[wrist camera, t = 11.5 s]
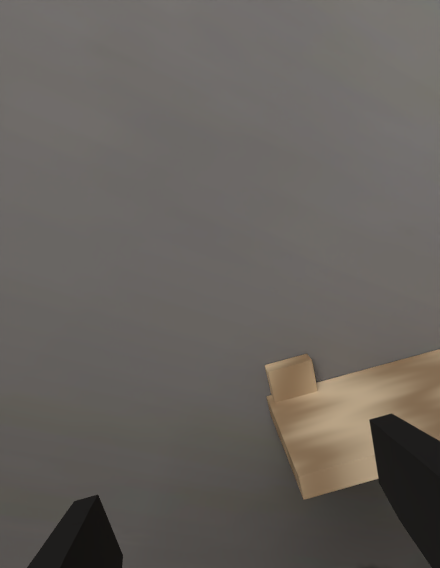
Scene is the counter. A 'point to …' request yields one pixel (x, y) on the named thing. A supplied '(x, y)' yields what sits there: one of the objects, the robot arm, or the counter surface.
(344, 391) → the wooden board with feet
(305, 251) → the counter surface
